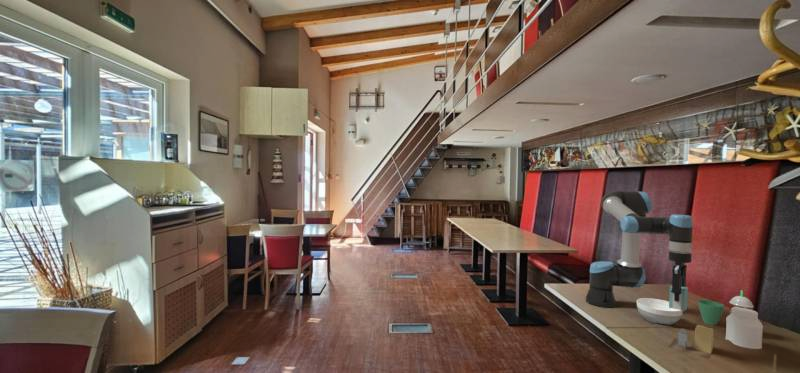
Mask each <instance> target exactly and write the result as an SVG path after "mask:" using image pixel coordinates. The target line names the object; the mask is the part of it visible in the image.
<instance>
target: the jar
mask: <svg viewBox="0 0 800 373" xmlns="http://www.w3.org/2000/svg"><path fill="white" fill-rule="evenodd" d="M758 317H759V313H758V312H757V311H756V310H754V309H753V310H750V309H746V308H740V307H733V308H732V312H731V314H730V313H729V314H728V315H727V316H726V318H725V319H726V321H725V322H726V326H725V327H726V328H725V340H727V341H729V342H731V343H732V344H733V345H735V346H738V347H741V348H746V349H752V350H760V349H763V329H764V325H763V324H762V322H761V321H760V319H759V318H758Z"/></svg>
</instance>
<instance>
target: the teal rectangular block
mask: <svg viewBox="0 0 800 373" xmlns="http://www.w3.org/2000/svg"><path fill="white" fill-rule="evenodd" d="M688 290H689V288H688V287H687V286H686V287H681V294H682V299H681V310H683V312H685V311H686V310H687V309H688V299H689V298H688V294H689V292H688ZM671 291H672V285H670V286H669V291H668V294H669V299H668V301H669V308H673V293H672V292H671ZM678 310H679V309H678Z"/></svg>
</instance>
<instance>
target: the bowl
mask: <svg viewBox="0 0 800 373" xmlns="http://www.w3.org/2000/svg"><path fill="white" fill-rule="evenodd" d="M636 308H637V310H638V313H639V314H640V315H641V317H642V318H644V319H645V320H646V321H647V322H648V323H650V324H653V325H656V324H660V325H667V326H672V325H673V324H676V323H678V321H680V320H681V319H682V316H683V312H684V311H683V310H678V309H674V308H669V300H665V299H664V300H663V299H658V298H651V297H644V298H643V297H642V298H638V299H636Z"/></svg>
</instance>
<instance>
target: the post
mask: <svg viewBox="0 0 800 373" xmlns="http://www.w3.org/2000/svg"><path fill="white" fill-rule="evenodd" d="M677 339H678V347H679V348H683V349H686V348H687V342H688V332H687V330H686V329H685V328H680V330H679V331H678V333H677Z"/></svg>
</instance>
